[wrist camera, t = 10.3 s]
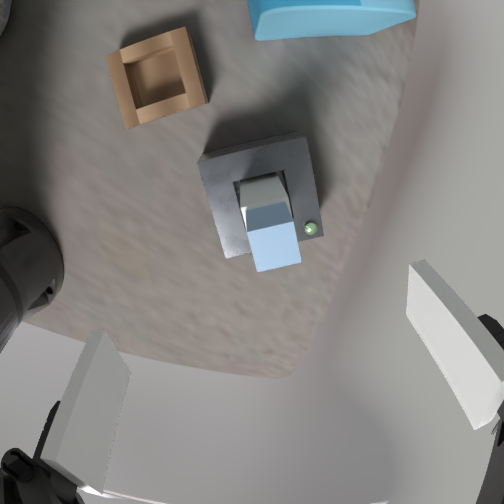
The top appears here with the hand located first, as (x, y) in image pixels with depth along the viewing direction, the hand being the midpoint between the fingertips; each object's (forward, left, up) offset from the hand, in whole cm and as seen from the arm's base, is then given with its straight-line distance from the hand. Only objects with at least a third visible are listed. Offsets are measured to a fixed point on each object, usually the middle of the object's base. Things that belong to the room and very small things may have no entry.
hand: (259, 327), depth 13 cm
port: (+1, -1, -23) cm, 23 cm away
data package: (+10, +16, -24) cm, 30 cm away
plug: (+1, -1, -22) cm, 22 cm away
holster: (-6, +13, -23) cm, 27 cm away
